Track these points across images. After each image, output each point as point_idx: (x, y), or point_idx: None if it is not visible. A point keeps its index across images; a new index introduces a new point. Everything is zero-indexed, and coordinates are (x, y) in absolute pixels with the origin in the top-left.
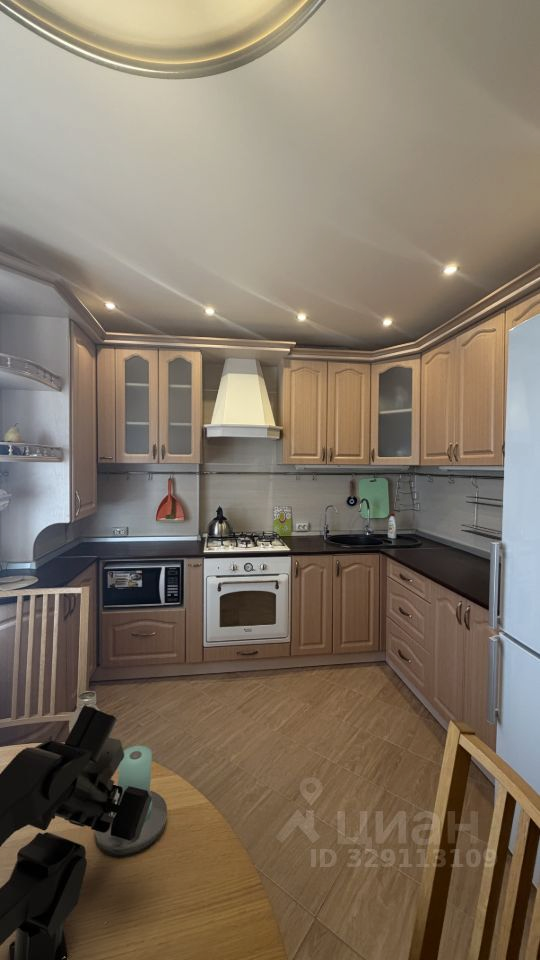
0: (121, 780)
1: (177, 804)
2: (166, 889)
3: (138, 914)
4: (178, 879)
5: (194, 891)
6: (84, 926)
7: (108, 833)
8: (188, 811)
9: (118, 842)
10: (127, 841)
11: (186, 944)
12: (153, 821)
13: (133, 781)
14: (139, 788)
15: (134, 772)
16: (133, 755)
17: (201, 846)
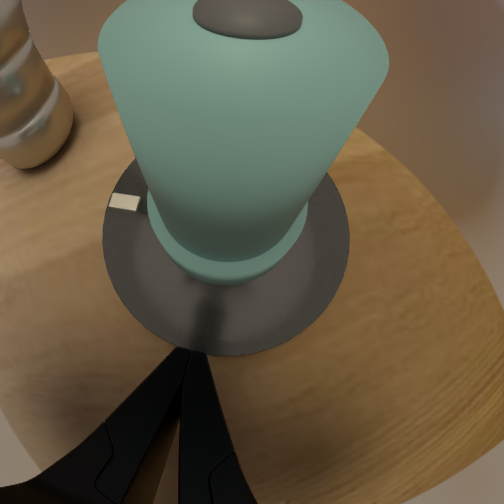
0: (171, 187)
1: None
2: (396, 405)
3: (351, 472)
4: (414, 374)
5: (447, 388)
6: None
7: (172, 311)
8: (367, 173)
9: (228, 344)
10: (260, 338)
11: (443, 473)
12: (316, 242)
13: (277, 195)
14: (300, 202)
15: (298, 152)
16: (230, 12)
17: (434, 276)
